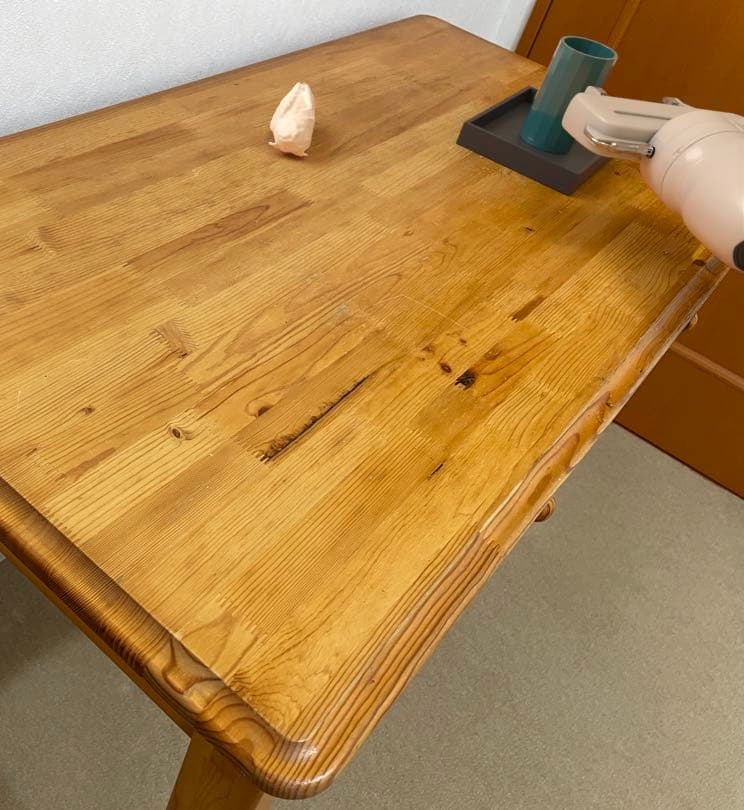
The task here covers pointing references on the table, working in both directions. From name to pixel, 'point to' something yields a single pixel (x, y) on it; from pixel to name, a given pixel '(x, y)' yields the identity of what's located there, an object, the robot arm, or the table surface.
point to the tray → (526, 146)
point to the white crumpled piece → (294, 121)
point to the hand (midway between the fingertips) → (628, 98)
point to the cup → (565, 91)
